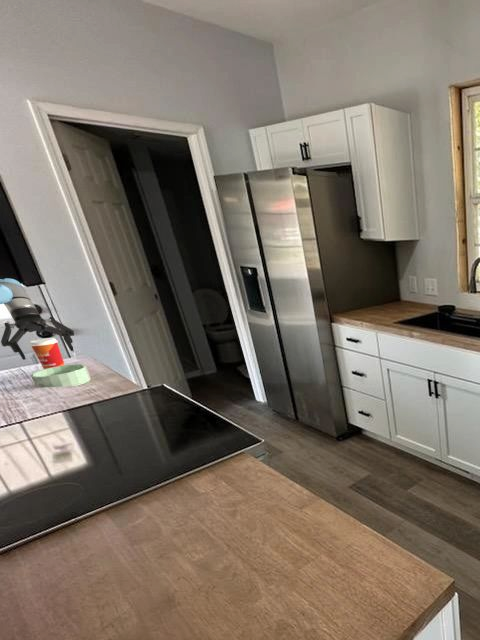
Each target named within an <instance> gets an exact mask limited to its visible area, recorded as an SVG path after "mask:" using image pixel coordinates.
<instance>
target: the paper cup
mask: <svg viewBox="0 0 480 640" xmlns="http://www.w3.org/2000/svg"><path fill="white" fill-rule="evenodd" d="M56 339H57V338H55V337H47V338H39V339H35V340H30V342H29V347H31V348H32V351H33V352H34V354H35V355H36V357H37V359H38V361H39V363H40V365H41V366H42V369H47V368H52V367H57V366H63V365H66V364H65V362H64V359H63V355H62V353H61V350H60V347H59V344H58V342H59V341H58V340H56Z"/></svg>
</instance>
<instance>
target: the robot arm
mask: <svg viewBox="0 0 480 640" xmlns="http://www.w3.org/2000/svg"><path fill="white" fill-rule="evenodd" d="M0 305H4V306H5V307H6V309H7V311H8V313H9V314H10V317H11V318H12V319H13V320H12V321H14V323H9V322H4V331H3V333H2V334H3V335H2V337H1V340H0V344H1V346H2V347H10V348H11V350H12V352H13V353H15V354H16V353H18V354H19V356H20V358H21V359H22V361H24V360H26V359H27V358H26V355H25V353H24V352H23V350H22V348H21V347H20V345H19V341H20V340H21V339H22V337H24V335H26V333H34V332H41V331H44V332H49V333H52V334H55V335H58V336H60V337H62V338H63V341H64V342H65V344H66V346H67V347H68V349H69V350H70V352H74V346H73V343H74V342H73V338H72V337H73V336H75V331H74V329H71V328H70V327H68V326H66V325H65V324H63V323H61V322H60V321H58V320H56V318H55V317H53V316H49V318H45V319H44V318H42V316H41V314H40V313H39V310H37V307H36V306H35V304H34V303H33V301H32V300H31V298H30V296H29V294H28V293H27V291H26V289H25V287H24V286H23V285H22V284H21V282H19V281H18V280H16V279H14V278H7V277H6V278H0ZM51 325H53V326H51ZM15 328H17V330H16V332H15V333H14V335H13V336H12V337H11V334H12V331H13V330H14V329H15ZM10 337H11V339H10Z"/></svg>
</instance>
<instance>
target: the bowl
mask: <svg viewBox="0 0 480 640" xmlns="http://www.w3.org/2000/svg"><path fill="white" fill-rule="evenodd" d="M30 377H31V380H32V382H33V384H34V386H35V388H37V389H39V388H60V387H78V386H81V385H83V384H87V383H88V382H90V381H92V380H91V376H90V373H89V370H88V369H87V366H86V365H85V364H81V363H73V364H65V365H63V366H57V367H52V368H47V369H44V368H42V369H40V370H37V371H35V372H31V374H30Z"/></svg>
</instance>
